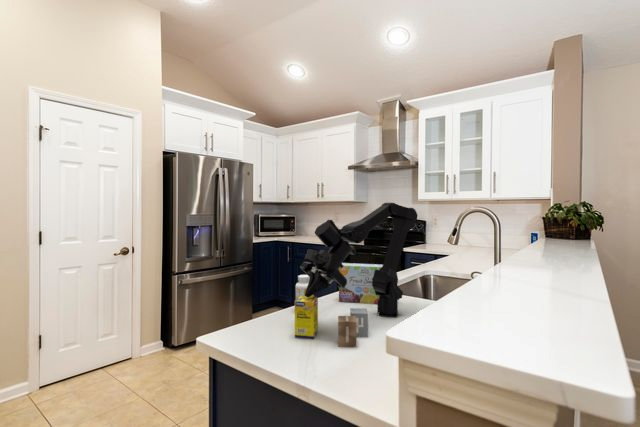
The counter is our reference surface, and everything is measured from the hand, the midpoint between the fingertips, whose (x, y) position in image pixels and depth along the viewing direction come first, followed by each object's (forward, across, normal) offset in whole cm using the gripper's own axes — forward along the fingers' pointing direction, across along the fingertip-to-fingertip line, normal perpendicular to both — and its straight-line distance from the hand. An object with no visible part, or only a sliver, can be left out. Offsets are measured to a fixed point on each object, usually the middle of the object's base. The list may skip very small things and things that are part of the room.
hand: (306, 296), depth 104 cm
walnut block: (+4, +12, +13) cm, 18 cm away
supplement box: (+8, 0, +8) cm, 12 cm away
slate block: (-1, +8, +18) cm, 20 cm away
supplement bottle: (0, -20, +17) cm, 26 cm away
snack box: (-18, -16, +35) cm, 43 cm away
